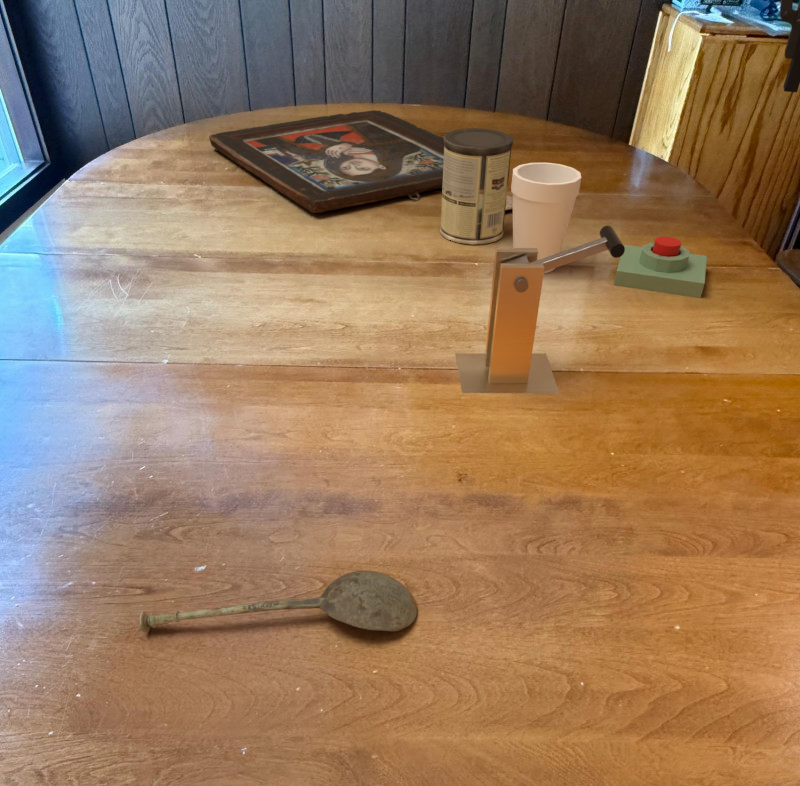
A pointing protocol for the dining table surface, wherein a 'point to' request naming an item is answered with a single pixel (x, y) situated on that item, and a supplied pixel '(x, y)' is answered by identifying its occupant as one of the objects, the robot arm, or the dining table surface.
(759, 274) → the dining table surface
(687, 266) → the button box
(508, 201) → the flatbread
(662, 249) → the button
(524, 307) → the bracket
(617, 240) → the lever
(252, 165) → the religious icon
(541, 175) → the foam cup
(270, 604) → the soupspoon
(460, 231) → the coffee can
